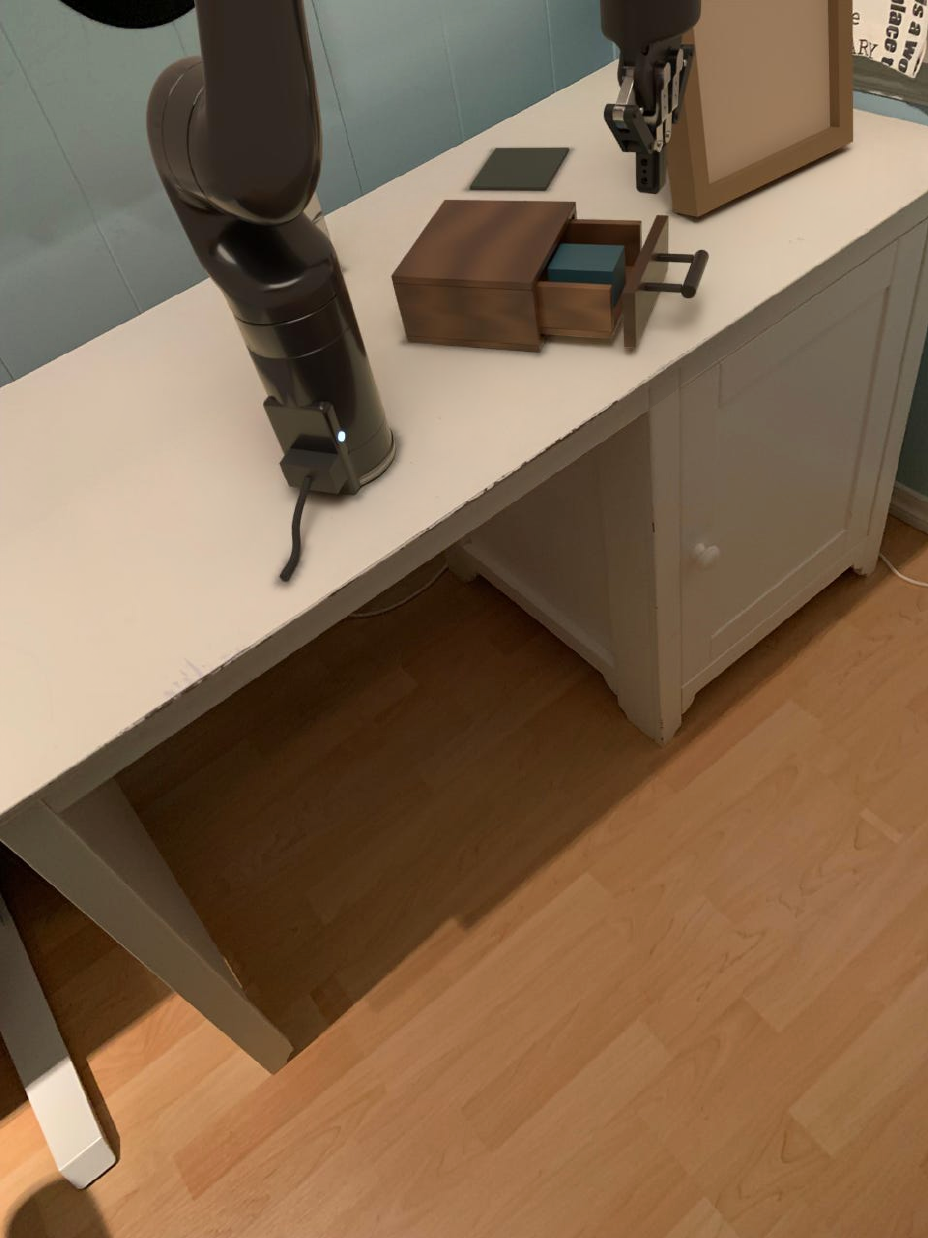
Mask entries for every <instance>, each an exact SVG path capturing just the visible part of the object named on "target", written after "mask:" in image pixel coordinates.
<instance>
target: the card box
mask: <svg viewBox="0 0 928 1238" xmlns="http://www.w3.org/2000/svg"><path fill="white" fill-rule="evenodd" d="M547 270H548V280H549V282H564V283H584V284H605V285H612V296H613V308H615V306H616V303H617V301H618V299H619V297H620V294H621V292H622V290H623V288H624V285H625V283H626V273H625V246H621V245H591V244H560V246H559V248H558V250H557V251H556V253H555V255H554V257H553V259H552V261H551V263H550V264H549V266H548V268H547Z"/></svg>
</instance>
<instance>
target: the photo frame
mask: <svg viewBox="0 0 928 1238" xmlns="http://www.w3.org/2000/svg"><path fill="white" fill-rule="evenodd" d="M853 4H854V1H853V0H701V15H700V19H699V21H698V22H697V24H696V25H695V26H694V27H693V28H692V29H691V30H690V31H688V32H687V33H685V34H683V35H682V44H694V47H695V53H694V57H693V61H692V65H691V70H690V74H689V78H688V83H687V87H686V91H685V95H684V100H683V104H682V108H681V112H680V117H679V120H678V123H677V124H676V125H673V124H671V137H670V140H669V141H668V142H665V143H667V157H666V168H667V174H668V181H669V190H670V197H671V205H672V212H673V213H677V214H682V215H687V216H692V217H698V218H699V217H701V216H702V215H704V214H707V213H709V212H711V211H713V210H715V209H717V208H718V207H721V206H723V205H725V204H727V203H729V202H731V201H733V200H735V199H738V198H739V197H742V196H744V195H745V194H748V193H750V192H753V191H754V190H756V189H758V188H760V187H762V186H764V185H766V184H768V183H771V182H772V181H775V180H777V179H779V178H781V177H783V176H786V175H787V174H790V173H791V172H793V171H796V170H797V169H800V168H802V167H804V166H806V165H808V164H811V163H812V162H814V161H816V160H818V159H820V158H823V157H824V156H826V155H828V154H830V153H832V152H834V151H837V150H839V149H841V148H843V147H845V146H847V145H850V144H852V143H853V142H854V15H853V14H854V13H853V12H854V11H853V10H854V8H853V7H854V6H853Z"/></svg>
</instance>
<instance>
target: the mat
mask: <svg viewBox="0 0 928 1238" xmlns="http://www.w3.org/2000/svg"><path fill="white" fill-rule="evenodd" d="M569 151H570V147H495V148H494V149H493V152H492V153H491V154H490V156H489V157H488V159H487V161H486V162H485V163H484V164H483V166H482V168H481V169H480V170H479V172H478V174H477V175H476V176H475V177H474V178H473V180H472V182H471V183H470V185H469V190H474V191H475V190H479V191H480V190H483V191H484V190H485V191H486V190H487V191H489V190H491V191H497V190H498V191H547V189H548V187H549V185H550V183H551V182H552V180H553V179H554V177H555V176H556V174H557V172H558V170H559V169H560V167H561V166H562V163H563V161H564V160H565V158H566V156H567V155H568V153H569Z"/></svg>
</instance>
